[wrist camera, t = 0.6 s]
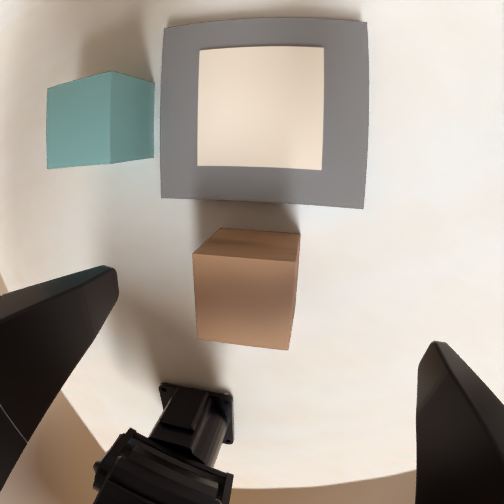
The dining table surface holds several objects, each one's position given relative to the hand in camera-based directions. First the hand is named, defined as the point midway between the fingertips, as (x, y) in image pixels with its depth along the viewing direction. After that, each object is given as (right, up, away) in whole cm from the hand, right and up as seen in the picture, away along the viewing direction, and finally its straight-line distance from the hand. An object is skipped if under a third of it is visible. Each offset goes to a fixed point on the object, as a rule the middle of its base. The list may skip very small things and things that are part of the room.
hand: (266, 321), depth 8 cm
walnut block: (0, +1, +13) cm, 13 cm away
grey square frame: (0, +10, +9) cm, 14 cm away
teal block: (-9, +10, +11) cm, 18 cm away
